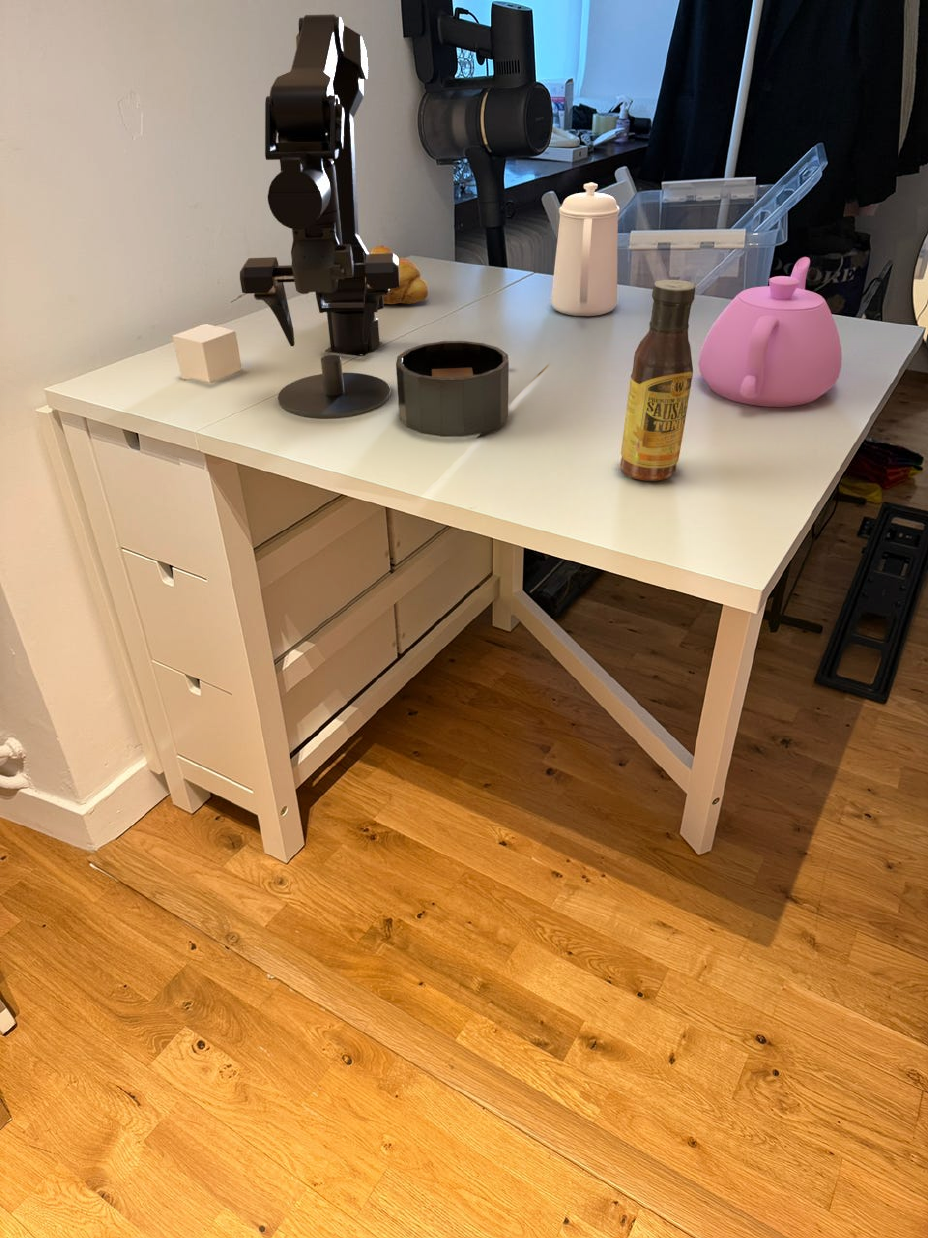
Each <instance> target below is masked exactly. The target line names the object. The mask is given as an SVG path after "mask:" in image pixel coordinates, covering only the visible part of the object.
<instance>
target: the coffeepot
mask: <svg viewBox="0 0 928 1238" xmlns="http://www.w3.org/2000/svg"><path fill="white" fill-rule="evenodd" d="M583 189H584V190H585V192H579V193H574V194H571V195H569V196H567V197H566V198H565V199H564V200H563V202H562V205H561V206H560V207H559V208H558V210H559V211H558V212H559V223H558V233H557V234H558V235H557V241H556V250H555V259H554V268H553V276H552V277H553V278H552V286H551V293H550V294H551V295H550V304H551V307H552V308H553V309H554V310H555V311H557V312H559V313H561V314H564V315H568V316H574V317H595V316H602V315H605V314H607V313H610V312H612V311H613V310H614V309H615V308H616V306H617V303H618V244H619V243H618V236H619V233H618V231H619V226H618V225H619V222H618V221H619V214H620V207H619V206H618V204H617V201H616V199H615V198H614V197H613V196H611V195H609V194H606V193H601V192H595V191H596V190H597V189H598V184H597V183H595V182H591V181H590V182H588V183H584V184H583Z"/></svg>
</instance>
